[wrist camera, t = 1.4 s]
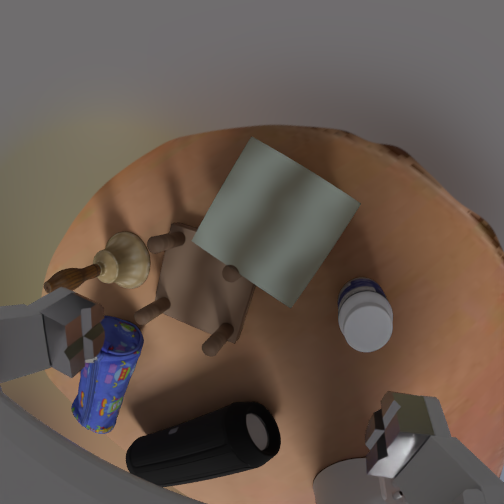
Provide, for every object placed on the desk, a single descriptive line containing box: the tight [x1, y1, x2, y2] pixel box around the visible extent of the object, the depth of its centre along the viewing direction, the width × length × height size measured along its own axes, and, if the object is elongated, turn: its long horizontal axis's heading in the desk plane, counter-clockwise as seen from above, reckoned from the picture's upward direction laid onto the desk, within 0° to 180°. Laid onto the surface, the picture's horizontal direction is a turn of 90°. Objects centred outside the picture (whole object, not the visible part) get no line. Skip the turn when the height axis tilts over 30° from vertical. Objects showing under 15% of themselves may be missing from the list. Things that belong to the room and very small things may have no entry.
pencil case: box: [72, 316, 144, 434], centre depth 44 cm, size 22×9×10 cm, turn 154°
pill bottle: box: [338, 278, 393, 352], centre depth 33 cm, size 6×6×10 cm
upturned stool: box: [134, 222, 256, 356], centre depth 38 cm, size 12×12×8 cm
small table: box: [192, 136, 361, 308], centre depth 34 cm, size 12×12×8 cm
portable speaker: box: [126, 402, 281, 487], centre depth 42 cm, size 26×10×10 cm, turn 125°
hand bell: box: [44, 232, 150, 293], centre depth 37 cm, size 8×8×16 cm
